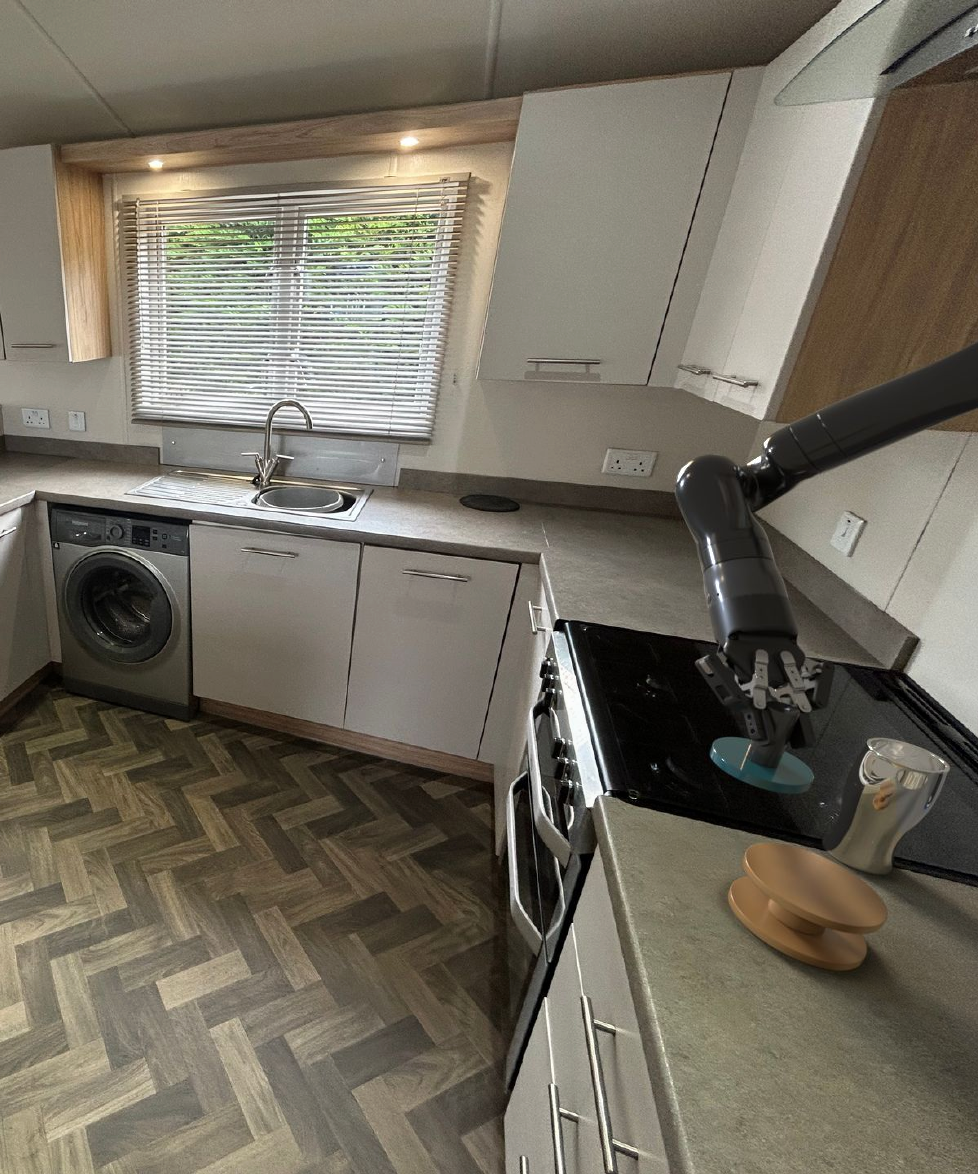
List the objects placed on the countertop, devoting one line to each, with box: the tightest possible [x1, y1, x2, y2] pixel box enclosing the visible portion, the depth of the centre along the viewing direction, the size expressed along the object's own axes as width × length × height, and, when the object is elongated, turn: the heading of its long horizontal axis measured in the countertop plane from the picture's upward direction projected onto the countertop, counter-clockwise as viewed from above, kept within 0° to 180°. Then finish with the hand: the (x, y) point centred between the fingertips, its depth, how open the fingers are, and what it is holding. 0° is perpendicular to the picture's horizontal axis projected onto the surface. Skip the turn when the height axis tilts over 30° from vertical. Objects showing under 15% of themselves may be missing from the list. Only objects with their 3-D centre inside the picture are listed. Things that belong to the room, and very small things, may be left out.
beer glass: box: [821, 737, 951, 876], centre depth 74 cm, size 7×7×15 cm
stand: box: [727, 842, 889, 972], centre depth 67 cm, size 11×11×6 cm
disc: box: [709, 700, 815, 795], centre depth 71 cm, size 9×9×8 cm
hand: (784, 746), depth 69 cm, fingers closed on disc, 3 cm apart
